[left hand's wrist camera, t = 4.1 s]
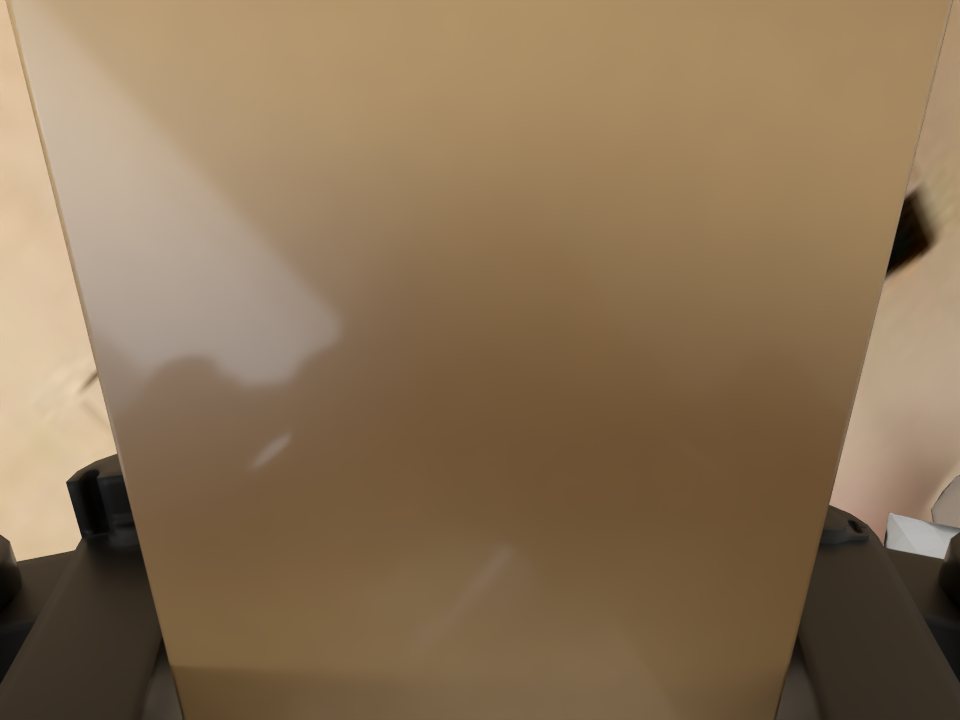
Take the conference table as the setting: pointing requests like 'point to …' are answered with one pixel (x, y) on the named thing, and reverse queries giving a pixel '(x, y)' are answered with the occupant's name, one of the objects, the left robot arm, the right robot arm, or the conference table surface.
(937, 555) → the fish
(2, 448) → the conference table surface
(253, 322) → the bar
